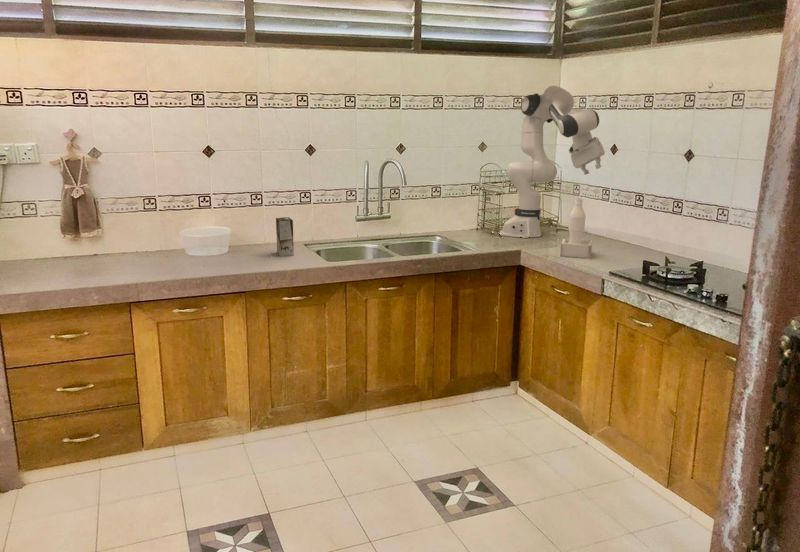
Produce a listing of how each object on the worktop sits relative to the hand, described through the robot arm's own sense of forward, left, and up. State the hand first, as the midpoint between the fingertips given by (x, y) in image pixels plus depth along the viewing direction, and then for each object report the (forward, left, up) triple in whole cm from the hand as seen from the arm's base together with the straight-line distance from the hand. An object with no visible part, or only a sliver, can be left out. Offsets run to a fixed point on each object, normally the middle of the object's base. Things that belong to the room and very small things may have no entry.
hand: (592, 171), depth 302 cm
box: (-4, -17, -37) cm, 41 cm away
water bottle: (-4, -17, -36) cm, 40 cm away
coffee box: (-128, -66, -37) cm, 148 cm away
